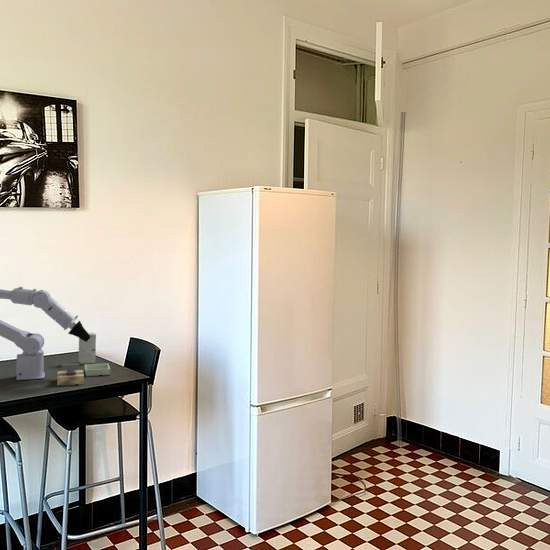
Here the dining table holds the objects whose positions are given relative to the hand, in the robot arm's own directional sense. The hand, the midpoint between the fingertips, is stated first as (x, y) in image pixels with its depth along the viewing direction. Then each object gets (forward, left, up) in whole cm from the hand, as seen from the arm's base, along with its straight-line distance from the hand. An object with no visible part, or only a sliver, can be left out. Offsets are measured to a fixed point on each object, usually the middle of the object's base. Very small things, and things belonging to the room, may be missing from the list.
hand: (88, 339), depth 222 cm
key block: (-6, -7, -14) cm, 17 cm away
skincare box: (+1, +23, -14) cm, 27 cm away
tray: (+4, +4, -14) cm, 15 cm away
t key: (-6, -7, -14) cm, 17 cm away
